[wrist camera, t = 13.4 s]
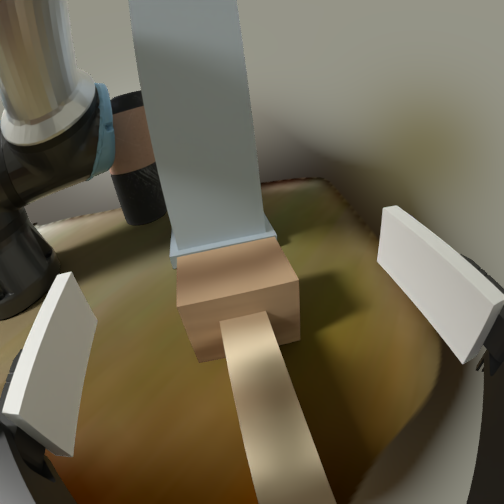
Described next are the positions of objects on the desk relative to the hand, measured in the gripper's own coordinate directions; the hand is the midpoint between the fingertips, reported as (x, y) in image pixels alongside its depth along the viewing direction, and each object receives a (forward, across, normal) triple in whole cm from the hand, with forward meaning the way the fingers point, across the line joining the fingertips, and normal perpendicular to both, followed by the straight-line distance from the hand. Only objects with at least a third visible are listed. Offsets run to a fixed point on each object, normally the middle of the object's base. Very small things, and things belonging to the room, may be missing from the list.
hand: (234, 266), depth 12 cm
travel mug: (+36, -11, -12) cm, 40 cm away
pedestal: (+25, 0, -12) cm, 27 cm away
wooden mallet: (+2, 0, -12) cm, 12 cm away
